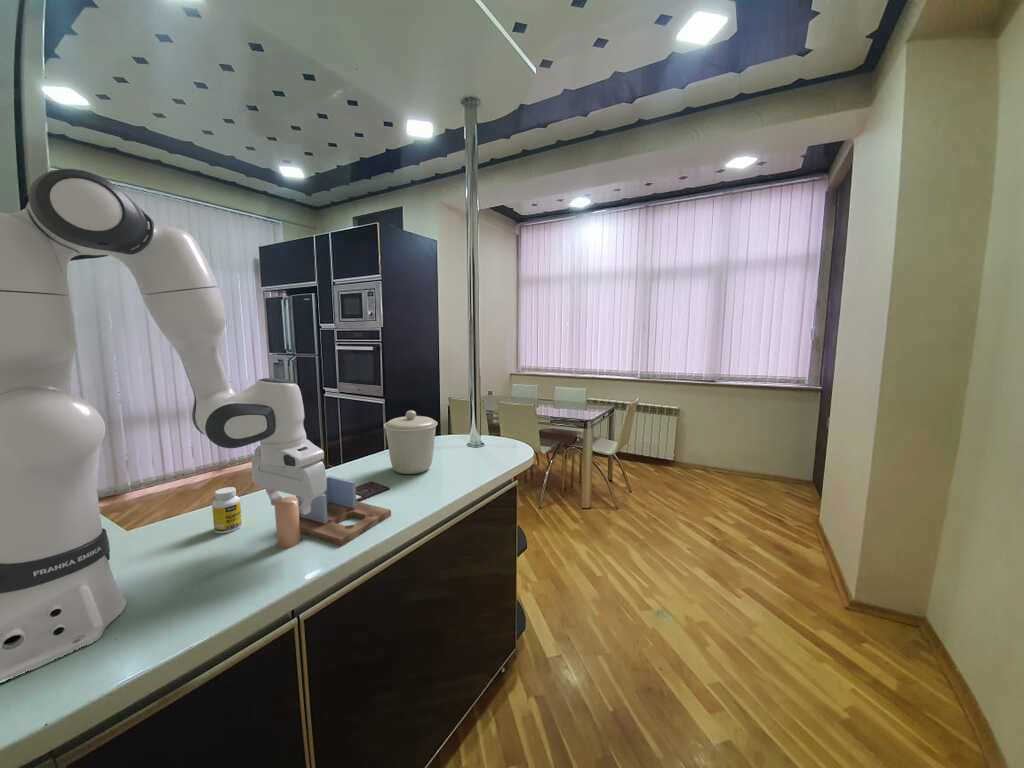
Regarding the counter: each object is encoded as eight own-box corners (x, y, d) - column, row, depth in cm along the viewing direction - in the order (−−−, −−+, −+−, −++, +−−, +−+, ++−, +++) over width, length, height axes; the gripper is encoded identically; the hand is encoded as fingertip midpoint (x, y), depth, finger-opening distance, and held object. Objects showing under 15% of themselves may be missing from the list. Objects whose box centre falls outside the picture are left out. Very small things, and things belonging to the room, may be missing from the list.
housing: (324, 523, 92) (322, 496, 91) (297, 515, 96) (295, 489, 95) (356, 506, 101) (355, 481, 100) (330, 500, 105) (329, 475, 104)
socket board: (342, 546, 86) (341, 539, 86) (282, 526, 94) (281, 520, 94) (391, 515, 101) (390, 509, 101) (335, 501, 109) (335, 495, 109)
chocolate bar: (389, 487, 117) (334, 509, 103) (390, 490, 118) (335, 513, 103) (371, 481, 122) (316, 501, 108) (371, 484, 123) (316, 504, 108)
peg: (286, 550, 84) (283, 507, 83) (272, 545, 86) (269, 503, 85) (305, 539, 89) (302, 498, 87) (291, 535, 90) (288, 495, 89)
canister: (404, 458, 146) (403, 404, 143) (447, 464, 141) (446, 407, 138) (373, 475, 129) (371, 413, 126) (420, 482, 124) (419, 418, 121)
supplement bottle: (227, 535, 90) (223, 496, 89) (208, 532, 91) (204, 493, 90) (247, 524, 95) (244, 486, 94) (229, 522, 96) (226, 484, 95)
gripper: (240, 448, 86) (247, 505, 88) (303, 461, 78) (309, 524, 80) (267, 440, 92) (273, 494, 94) (329, 452, 84) (334, 511, 86)
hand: (290, 508), depth 87 cm, fingers open, 8 cm apart
